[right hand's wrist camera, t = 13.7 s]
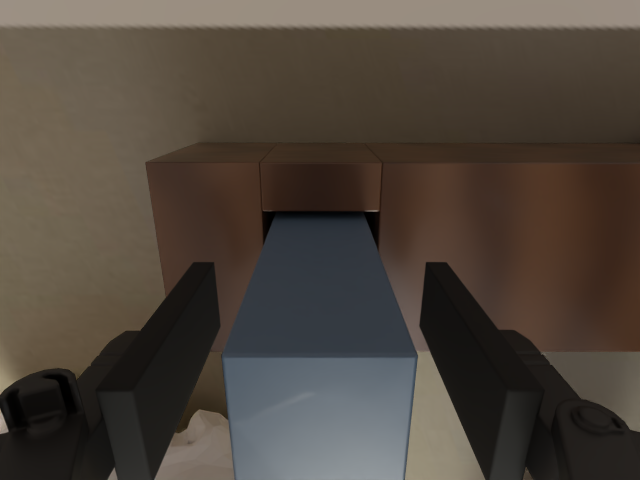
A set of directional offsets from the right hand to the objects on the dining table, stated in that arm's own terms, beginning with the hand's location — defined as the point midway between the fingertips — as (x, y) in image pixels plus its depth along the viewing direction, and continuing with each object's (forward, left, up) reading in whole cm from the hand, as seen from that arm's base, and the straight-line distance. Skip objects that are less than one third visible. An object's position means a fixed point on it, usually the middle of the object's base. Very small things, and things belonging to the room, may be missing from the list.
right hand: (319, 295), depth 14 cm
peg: (0, 0, -10) cm, 10 cm away
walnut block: (-7, -4, -10) cm, 13 cm away
